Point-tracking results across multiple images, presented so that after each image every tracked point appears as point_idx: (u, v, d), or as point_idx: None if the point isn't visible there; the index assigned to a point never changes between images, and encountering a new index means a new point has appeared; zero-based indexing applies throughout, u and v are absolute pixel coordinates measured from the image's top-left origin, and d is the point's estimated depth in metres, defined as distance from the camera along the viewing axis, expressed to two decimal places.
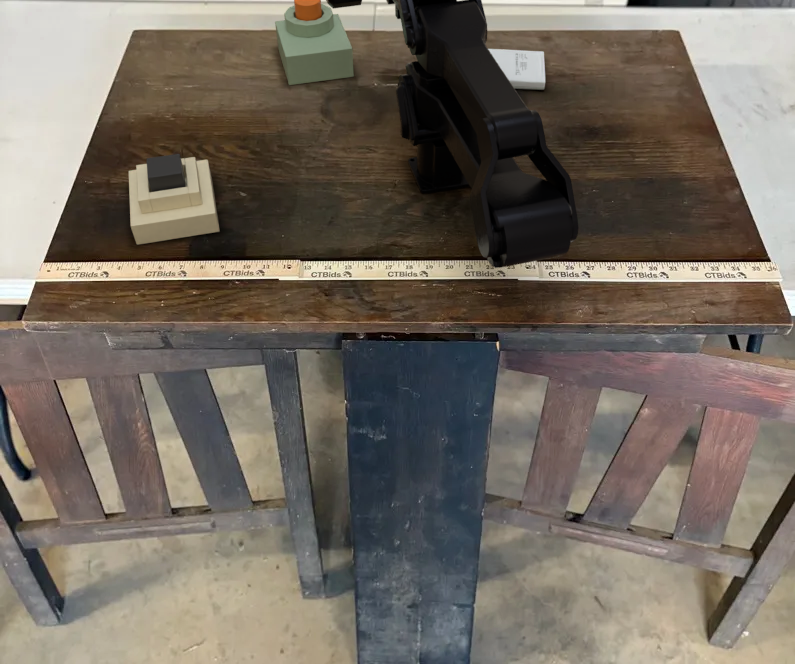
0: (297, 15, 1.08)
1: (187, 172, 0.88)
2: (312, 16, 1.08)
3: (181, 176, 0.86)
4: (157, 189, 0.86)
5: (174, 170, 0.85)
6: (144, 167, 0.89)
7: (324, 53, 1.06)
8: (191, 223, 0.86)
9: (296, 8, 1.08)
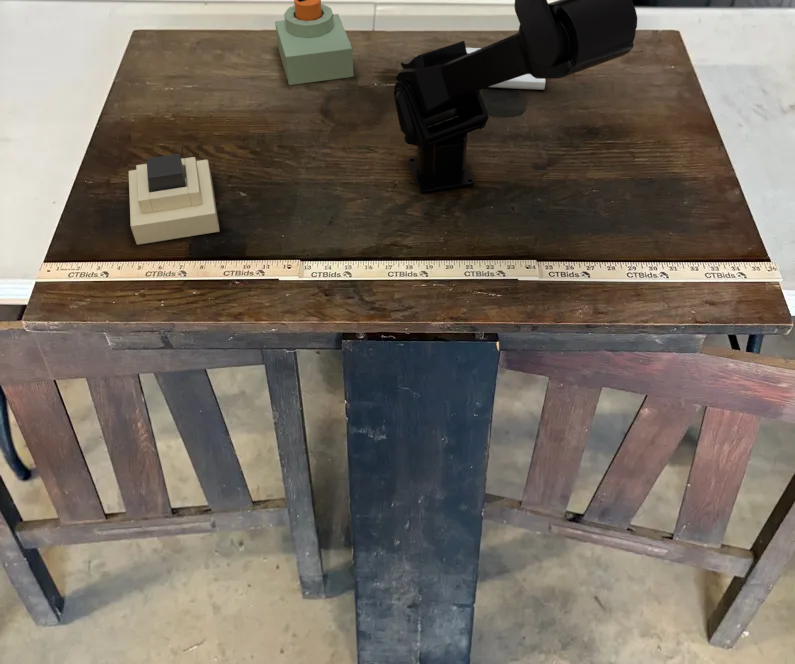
0: (297, 15, 1.08)
1: (187, 172, 0.88)
2: (312, 16, 1.08)
3: (181, 176, 0.86)
4: (157, 189, 0.86)
5: (174, 170, 0.85)
6: (144, 167, 0.89)
7: (324, 53, 1.06)
8: (191, 223, 0.86)
9: (296, 8, 1.08)
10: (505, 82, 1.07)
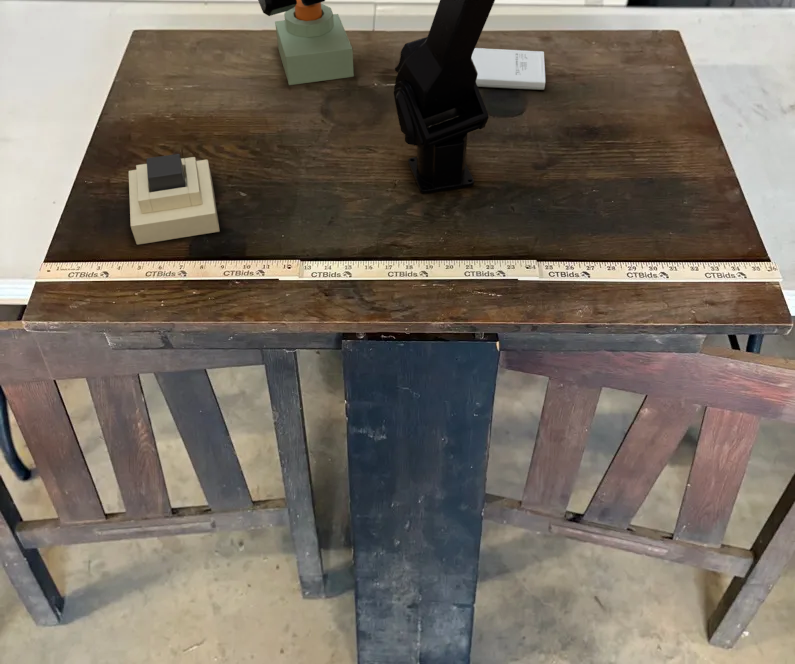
0: (297, 17, 1.09)
1: (187, 172, 0.88)
2: (312, 18, 1.08)
3: (181, 176, 0.86)
4: (157, 189, 0.86)
5: (174, 170, 0.85)
6: (144, 167, 0.89)
7: (324, 53, 1.06)
8: (191, 223, 0.86)
9: (296, 10, 1.08)
10: (505, 82, 1.07)
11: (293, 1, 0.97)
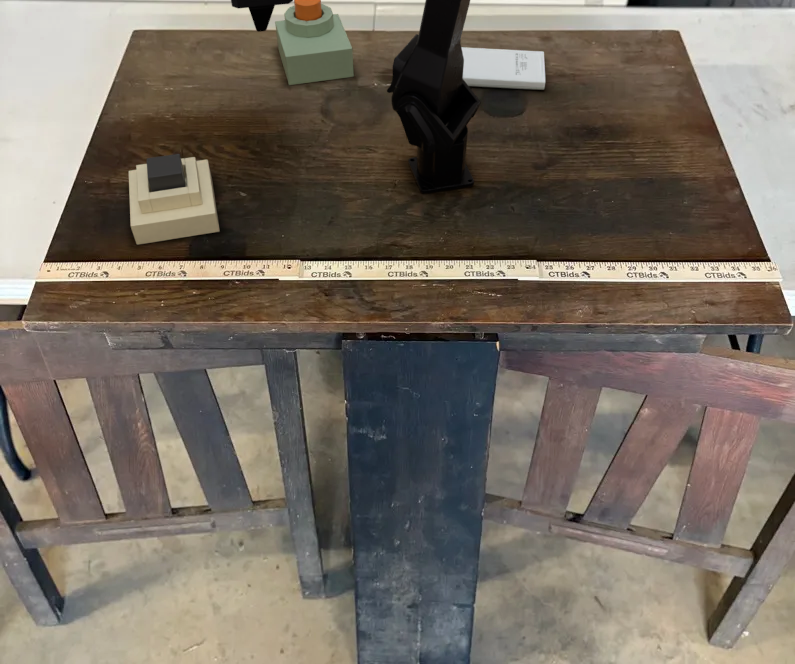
0: (297, 15, 1.08)
1: (187, 172, 0.88)
2: (312, 16, 1.08)
3: (181, 176, 0.86)
4: (157, 189, 0.86)
5: (174, 170, 0.85)
6: (144, 167, 0.89)
7: (324, 53, 1.06)
8: (191, 223, 0.86)
9: (296, 8, 1.08)
10: (505, 82, 1.07)
11: None
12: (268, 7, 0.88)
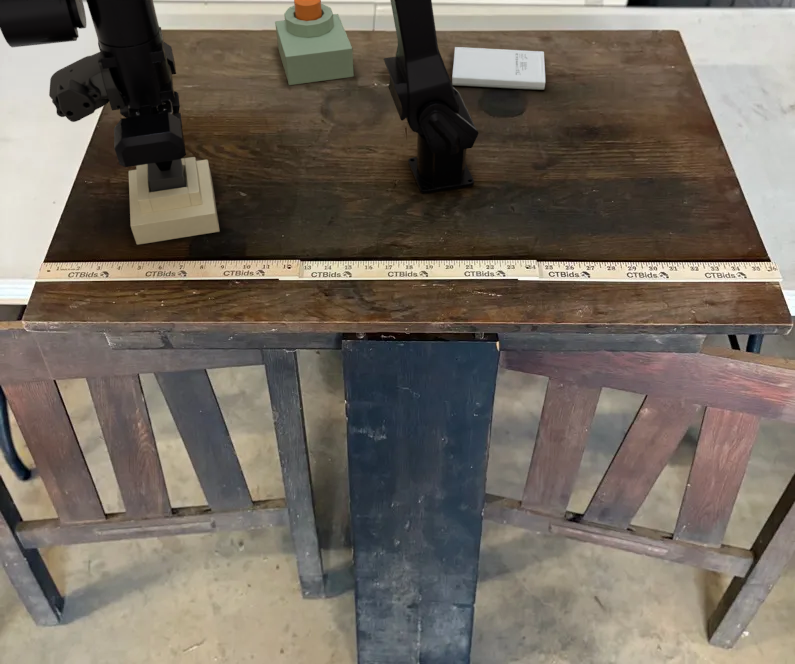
0: (297, 15, 1.08)
1: (187, 172, 0.88)
2: (312, 16, 1.08)
3: (182, 180, 0.86)
4: None
5: (174, 174, 0.86)
6: (144, 167, 0.89)
7: (324, 53, 1.06)
8: (191, 223, 0.86)
9: (296, 8, 1.08)
10: (505, 82, 1.07)
11: (176, 119, 0.76)
12: None
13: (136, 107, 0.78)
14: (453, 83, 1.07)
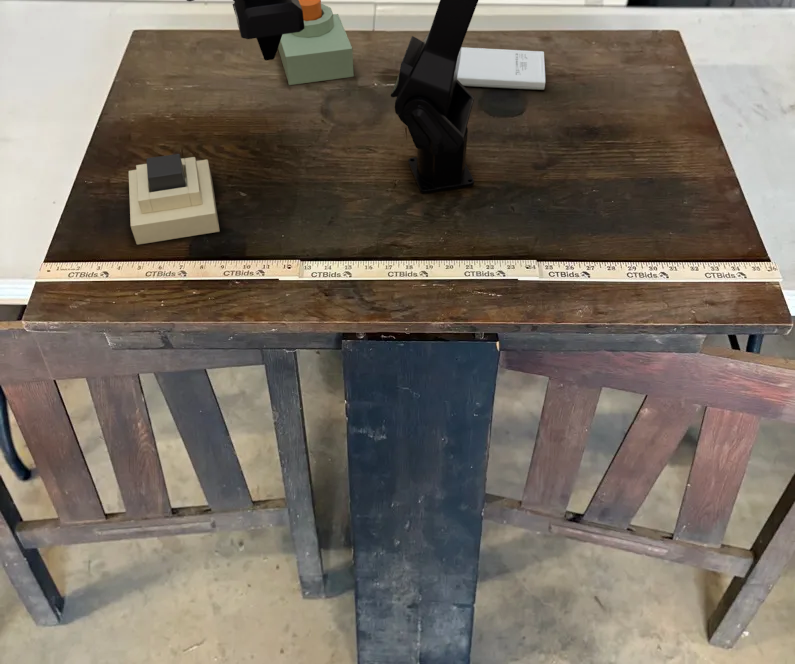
0: None
1: (187, 172, 0.88)
2: (312, 16, 1.08)
3: (181, 176, 0.86)
4: (157, 189, 0.86)
5: (174, 170, 0.85)
6: (144, 167, 0.89)
7: (324, 53, 1.06)
8: (191, 223, 0.86)
9: None
10: (505, 82, 1.07)
11: None
12: (276, 35, 0.85)
13: None
14: None
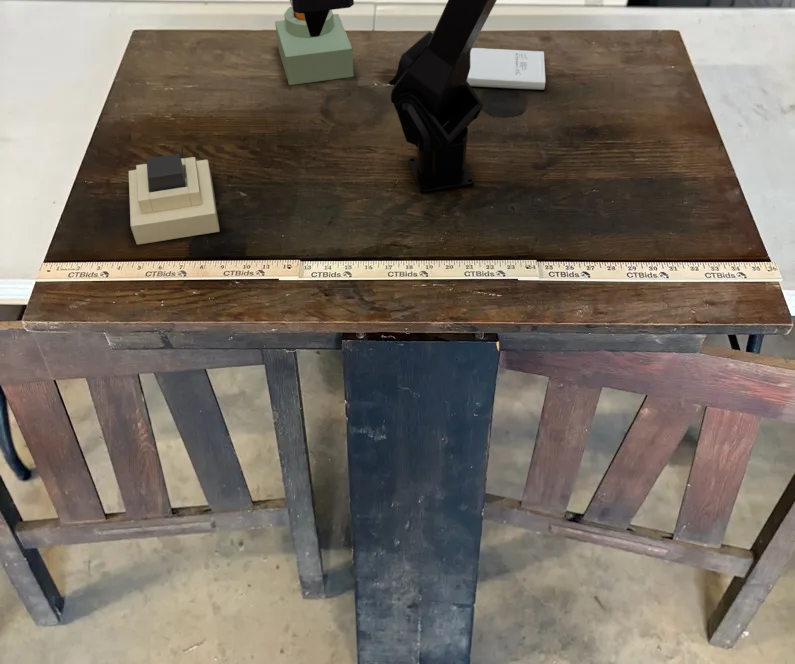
0: (297, 15, 1.08)
1: (187, 172, 0.88)
2: None
3: (181, 176, 0.86)
4: (157, 189, 0.86)
5: (174, 170, 0.85)
6: (144, 167, 0.89)
7: (324, 53, 1.06)
8: (191, 223, 0.86)
9: None
10: (505, 82, 1.07)
11: None
12: (323, 12, 0.88)
13: None
14: None
